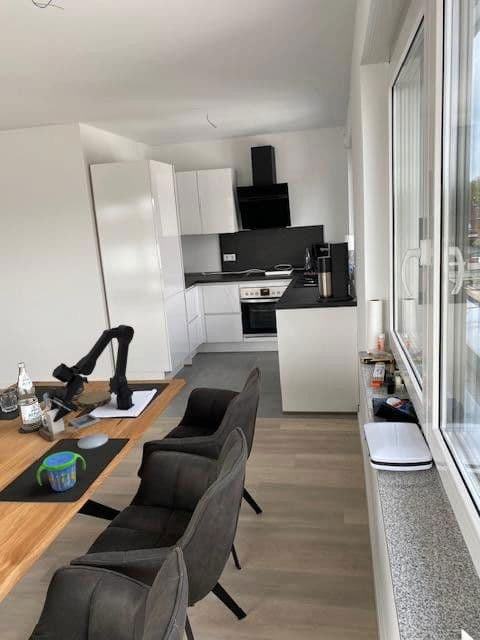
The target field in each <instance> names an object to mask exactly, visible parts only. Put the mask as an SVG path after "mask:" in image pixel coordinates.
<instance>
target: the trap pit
mask: <svg viewBox="0 0 480 640" xmlns="http://www.w3.org/2000/svg"><path fill="white" fill-rule="evenodd" d="M67 421H68V426H71V427H73V426H76V425H77V426H78V430H79V431H81V430H83V429H86V428H89V427H91V426H94V425H96V424H99V423H101V419H100V418H99V417H97V416H95V415H93V414H91V413H87V414H84V415H81V416H78V417H76V418H72V419H71V420H67Z"/></svg>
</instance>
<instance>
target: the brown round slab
mask: <svg viewBox="0 0 480 640" xmlns="http://www.w3.org/2000/svg"><path fill="white" fill-rule="evenodd" d="M111 401H112V393H111V392H110V391H107V390H98V391H97V390H96V391H90V392H88V393H83V394H81V395H79V396H78V398H77V406H78V408H80V409H96V408H100V407H103V406H106V405H107V404H109V403H111Z"/></svg>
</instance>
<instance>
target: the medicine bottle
mask: <svg viewBox="0 0 480 640" xmlns="http://www.w3.org/2000/svg"><path fill="white" fill-rule="evenodd" d="M74 375H79V374H76V373H74ZM66 384H67V382H66V383H63V382H62V386H65V385H66ZM85 392H86V391H85V386H84V383H83V384H82V385H81V387H80V388H79V390H78V392H77V393H78V395H77V396H76V395H75V396H74V398H76V397H79V396H82V395H84V394H86V393H85Z"/></svg>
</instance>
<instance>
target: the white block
mask: <svg viewBox="0 0 480 640" xmlns="http://www.w3.org/2000/svg"><path fill="white" fill-rule="evenodd" d="M58 410H59V409H57V408H56V409H53V410H50V411H48V412H46V411H45V412H44V413H45V414H44V415H45V420H46V425H47V426H48V431H49V432H48V433H50V434H51V435H52V434H55V433H57V432H60V431H63V430H65V426H64V422H63V420H64V417H62V418H61V419H60V420H58V421H57V422H53V420H54V418H55V416H56V414H57V412H58Z"/></svg>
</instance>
